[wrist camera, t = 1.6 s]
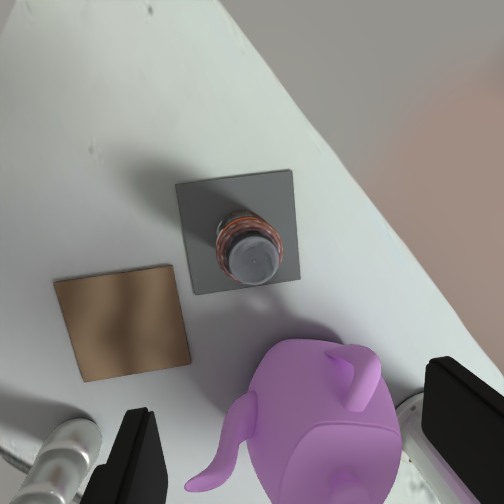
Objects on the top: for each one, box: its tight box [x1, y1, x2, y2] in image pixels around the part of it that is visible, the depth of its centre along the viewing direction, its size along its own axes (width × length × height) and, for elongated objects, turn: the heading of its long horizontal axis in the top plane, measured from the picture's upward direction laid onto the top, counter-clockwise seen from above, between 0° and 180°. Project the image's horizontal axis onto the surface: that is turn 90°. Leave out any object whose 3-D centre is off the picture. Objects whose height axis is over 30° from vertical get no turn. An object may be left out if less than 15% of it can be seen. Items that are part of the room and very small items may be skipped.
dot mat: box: [175, 171, 301, 295], centre depth 33 cm, size 13×13×1 cm
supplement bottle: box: [216, 210, 283, 285], centre depth 27 cm, size 6×6×11 cm
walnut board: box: [54, 265, 191, 382], centre depth 34 cm, size 13×13×1 cm
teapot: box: [184, 339, 402, 504], centre depth 31 cm, size 23×21×15 cm
